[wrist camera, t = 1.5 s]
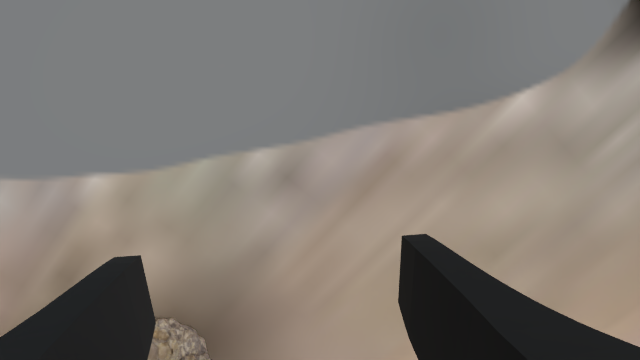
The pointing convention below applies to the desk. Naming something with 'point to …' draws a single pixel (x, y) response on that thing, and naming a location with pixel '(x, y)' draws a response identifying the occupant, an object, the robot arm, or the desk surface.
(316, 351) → the desk surface
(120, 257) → the robot arm
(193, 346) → the rough beige rock
